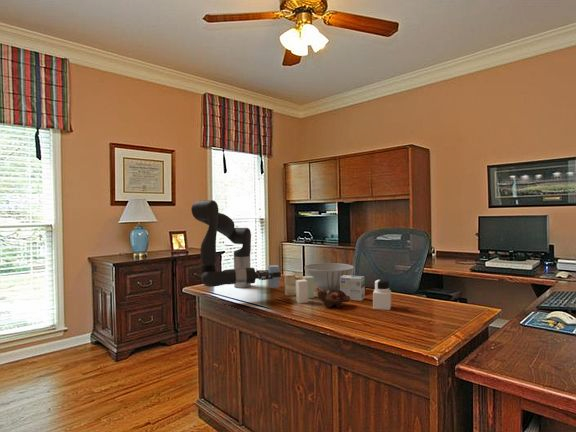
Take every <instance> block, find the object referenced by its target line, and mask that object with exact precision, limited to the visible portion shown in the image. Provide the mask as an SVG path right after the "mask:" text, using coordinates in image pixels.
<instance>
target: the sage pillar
mask: <svg viewBox="0 0 576 432" xmlns="http://www.w3.org/2000/svg"><path fill="white" fill-rule="evenodd" d="M304 279H305V280H307V281H308V299H312V298H313V299H314V298H315V285H314V277H312V276H307V275H304V276H302V280H304Z"/></svg>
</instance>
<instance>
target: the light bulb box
mask: <svg viewBox="0 0 576 432" xmlns="http://www.w3.org/2000/svg"><path fill="white" fill-rule="evenodd" d="M365 289H366V287H365V276H362V275H352V276H349V275H343V276H341V277H340V290H341V291H343V292H344V293H345V294H346V295H347V296H350V301H357V302H358V301H359V302H361V301H363V300H364V299H365V298H366V292H365Z"/></svg>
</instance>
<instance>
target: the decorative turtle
mask: <svg viewBox="0 0 576 432" xmlns="http://www.w3.org/2000/svg"><path fill="white" fill-rule="evenodd" d="M316 295H317V297H318V298H319V300H320V301H322V303H323V305H325V306H326V307H327V308H328V309H331V308H332V307H333V306H336V307H337V308H340V307H341V306H342V305H343V303H349V302H350V301H351V300H350V296H347V295H346V294H345V293H344V292H343V291H341V290H338V289H329V290H327V291H325V290H319V289H318V291H317V294H316Z"/></svg>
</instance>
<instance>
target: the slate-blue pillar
mask: <svg viewBox="0 0 576 432" xmlns="http://www.w3.org/2000/svg"><path fill="white" fill-rule="evenodd" d="M267 268H268V269H267V270H268V273H277V272H280V266H279V265H277V264H274V265H272V264H271V265H270V264H269V265H268V266H267ZM269 277H270V275H269ZM267 281H268V287H269V288H270V289H272V288H280V277H274V278H273V279H267Z"/></svg>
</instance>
